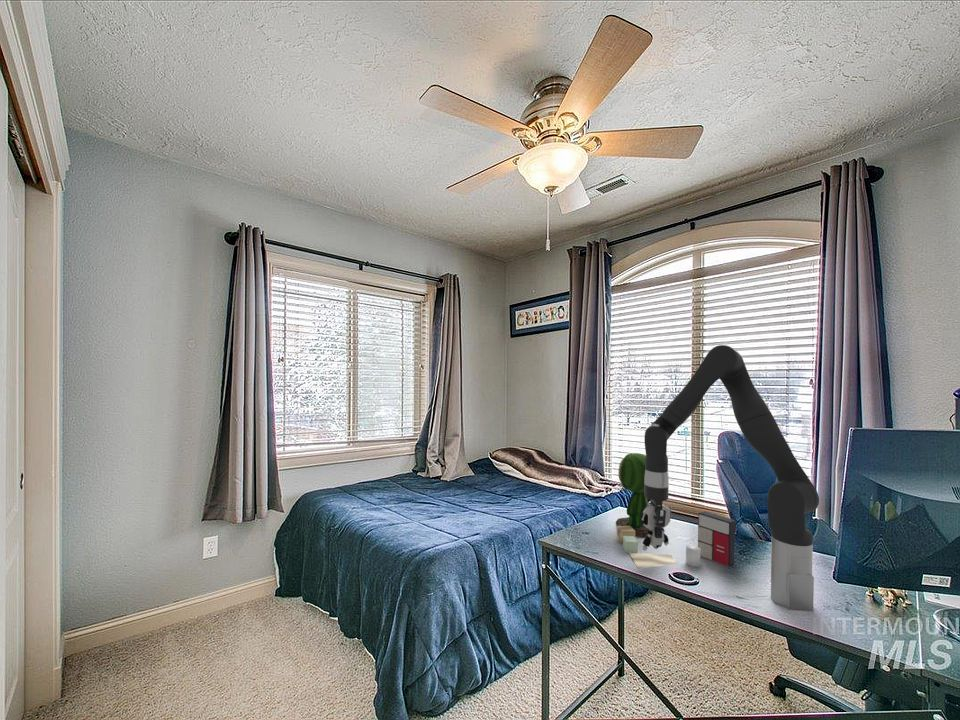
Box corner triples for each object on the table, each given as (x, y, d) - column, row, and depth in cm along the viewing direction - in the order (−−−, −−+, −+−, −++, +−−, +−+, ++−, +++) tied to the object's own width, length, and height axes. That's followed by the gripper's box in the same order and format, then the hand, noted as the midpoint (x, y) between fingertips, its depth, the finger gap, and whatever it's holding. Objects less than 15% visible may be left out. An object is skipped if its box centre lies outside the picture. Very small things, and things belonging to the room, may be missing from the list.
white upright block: (702, 569, 144) (702, 551, 144) (688, 568, 145) (688, 550, 145) (697, 563, 149) (697, 545, 149) (683, 562, 149) (684, 544, 149)
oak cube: (635, 544, 163) (635, 531, 163) (621, 544, 163) (622, 531, 163) (629, 539, 168) (629, 525, 168) (616, 539, 168) (617, 526, 168)
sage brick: (637, 553, 156) (637, 542, 156) (626, 552, 156) (626, 541, 156) (634, 547, 161) (634, 536, 161) (622, 546, 161) (623, 535, 161)
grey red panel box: (696, 556, 154) (696, 512, 154) (703, 553, 156) (703, 510, 156) (728, 568, 145) (729, 522, 145) (735, 565, 147) (736, 520, 147)
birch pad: (683, 572, 142) (683, 571, 142) (637, 569, 143) (637, 568, 143) (671, 556, 154) (671, 554, 154) (629, 553, 155) (629, 552, 155)
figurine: (625, 516, 192) (626, 447, 191) (672, 529, 178) (673, 454, 178) (606, 527, 179) (606, 453, 179) (654, 541, 165) (655, 461, 165)
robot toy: (662, 541, 154) (664, 499, 153) (673, 547, 149) (674, 503, 149) (635, 548, 149) (636, 504, 148) (645, 554, 145) (646, 508, 144)
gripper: (675, 490, 141) (674, 543, 141) (661, 478, 155) (661, 526, 155) (650, 489, 142) (649, 542, 142) (639, 477, 156) (638, 525, 156)
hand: (655, 534), depth 148 cm, fingers closed on robot toy, 5 cm apart
